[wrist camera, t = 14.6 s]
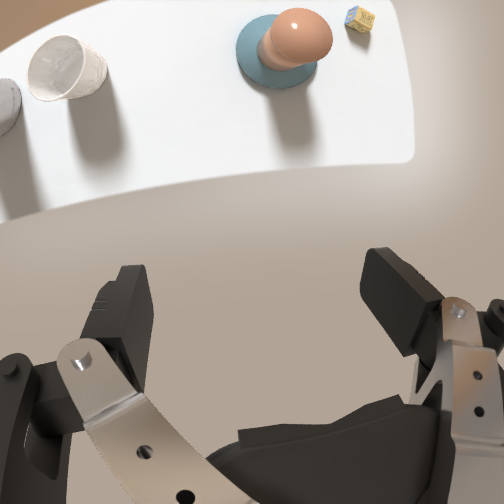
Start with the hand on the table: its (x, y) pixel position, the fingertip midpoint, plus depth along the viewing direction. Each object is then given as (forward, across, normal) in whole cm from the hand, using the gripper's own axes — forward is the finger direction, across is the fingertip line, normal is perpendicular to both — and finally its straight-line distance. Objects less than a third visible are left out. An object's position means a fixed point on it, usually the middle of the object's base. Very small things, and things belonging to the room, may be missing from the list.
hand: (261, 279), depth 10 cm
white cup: (+32, +18, -13) cm, 39 cm away
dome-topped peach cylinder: (+31, -8, -14) cm, 35 cm away
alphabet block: (+32, -20, -21) cm, 43 cm away
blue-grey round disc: (+32, -8, -14) cm, 36 cm away
